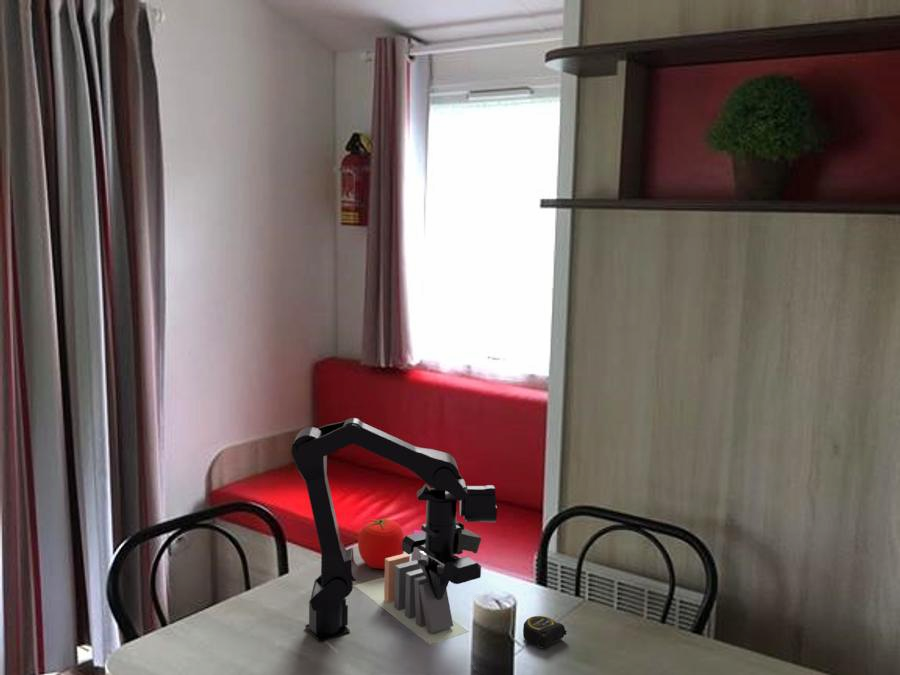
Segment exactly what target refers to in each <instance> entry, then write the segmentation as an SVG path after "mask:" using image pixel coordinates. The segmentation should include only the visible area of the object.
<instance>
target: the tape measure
mask: <svg viewBox="0 0 900 675" xmlns="http://www.w3.org/2000/svg"><path fill="white" fill-rule="evenodd" d="M567 632H568V630H566V627H565V625H564V624H563V623H561V622H556V621H555V620H554V619H552V618H551V617H548V616H543V615H534V616H531V617H528V618H527V619H526V620H525V622H524V623H523V627H522V636H523V638H524V640H525V641H526V643H528V644H529V645H531V646H535V647H538V648H541V649H546V648H549V646H551V645H552V644H554V643H556V642H558V641H560V640H562V639H563V638H564V637H565V636H566V635H567Z"/></svg>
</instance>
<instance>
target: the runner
mask: <svg viewBox="0 0 900 675" xmlns="http://www.w3.org/2000/svg"><path fill="white" fill-rule="evenodd" d="M384 585H385V576H383V577H380V578H376V579H373V580H368V581H365V582H362V583H357V584H353V586H354V587H356V589H358V590H359V591H360V592H362V593H363V594H364V595H366V597H368V598H369V599H371V600H372V601H373V602H374V603H376V604H377V605H378V606H380V607H381V608H382V609H383V610H385V611H386V612H387V613H388V614H390V615H391V616H393V617H394V618H395V619H396V620H397V621H399V622H400V623H402V624H403V625H404V626H405V627H406V628H408V629H409V630H411V631H412V632H413V633H414V634H415V635H417V636H418V637H419V638H421V639H422V640H423V641H424V642H426V643H427V644H428V645H429V646H431V645H433V644H436V643H439V642H442V641H445V640H448V639H450V638H454V637H456V636H460V635H462V634H466V633H469V630H468V629H466V628H465V627H464V626H462V625H461V624H460V623H457V622H456V621H455V620H453V619H452V622H453V626H452V627H449V628H446V629H443V630H440V631H437V632H434V633H427V627H426V625H424V626H421V627H420V626H419V625H417V624H416V617H414V618H411V619H409V618H407V617H406V616H405V609H403V610H400V611H398V610H397V609H396V608H394V603H395V601H393V602H390V603H388V602H386V601H385V600H384Z"/></svg>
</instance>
